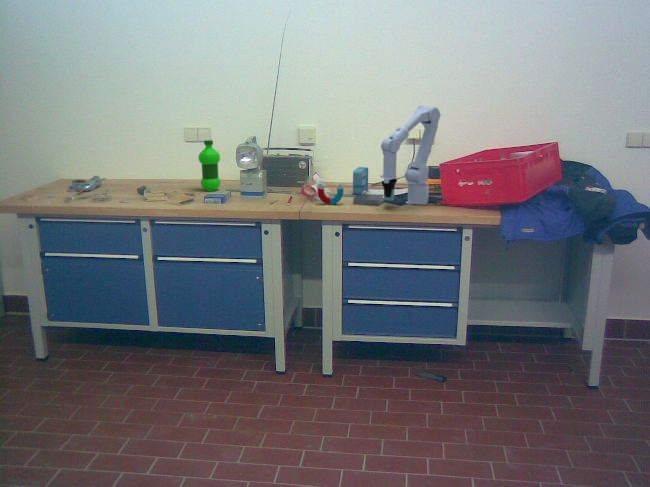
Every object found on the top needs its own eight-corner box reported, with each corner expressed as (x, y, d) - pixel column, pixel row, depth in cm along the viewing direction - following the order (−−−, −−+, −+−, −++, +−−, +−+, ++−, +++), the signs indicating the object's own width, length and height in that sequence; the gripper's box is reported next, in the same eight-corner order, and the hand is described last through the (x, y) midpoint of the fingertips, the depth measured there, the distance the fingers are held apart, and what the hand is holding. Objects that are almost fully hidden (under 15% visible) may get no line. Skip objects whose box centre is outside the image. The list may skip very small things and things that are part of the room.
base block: (384, 200, 307) (384, 195, 307) (378, 205, 296) (378, 200, 296) (359, 198, 311) (359, 193, 310) (353, 204, 300) (353, 198, 299)
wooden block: (394, 198, 293) (394, 188, 292) (392, 200, 290) (392, 190, 288) (385, 198, 294) (385, 188, 293) (383, 200, 291) (383, 190, 290)
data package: (361, 195, 318) (361, 170, 315) (352, 194, 320) (352, 170, 316) (368, 190, 329) (368, 166, 326) (359, 189, 331) (359, 166, 327)
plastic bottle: (222, 191, 327) (220, 141, 320) (201, 192, 324) (198, 142, 317) (220, 187, 336) (218, 139, 329) (200, 188, 334) (197, 139, 327)
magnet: (343, 203, 301) (343, 182, 298) (343, 205, 298) (343, 183, 295) (318, 203, 301) (318, 182, 299) (317, 204, 299) (317, 183, 296)
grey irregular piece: (80, 185, 347) (108, 183, 345) (53, 201, 321) (83, 199, 319) (77, 175, 345) (105, 173, 342) (50, 190, 319) (80, 188, 317)
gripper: (384, 162, 296) (383, 192, 299) (377, 168, 282) (376, 199, 286) (399, 163, 294) (398, 193, 297) (393, 169, 280) (392, 199, 284)
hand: (389, 196), depth 292 cm, fingers closed on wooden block, 4 cm apart
